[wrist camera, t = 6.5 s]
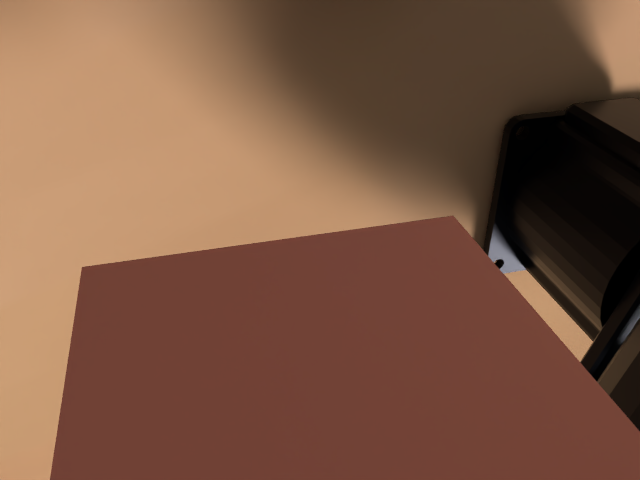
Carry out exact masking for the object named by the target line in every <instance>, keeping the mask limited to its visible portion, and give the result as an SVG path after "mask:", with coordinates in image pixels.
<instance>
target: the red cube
mask: <svg viewBox="0 0 640 480" xmlns="http://www.w3.org/2000/svg"><path fill="white" fill-rule="evenodd" d="M50 480H640V431H639V430H638V429H637V428H636V427H635V425H634V424H633V423H632V422H631V421H630V420H629V418H628V417H627V416H626V415H625V414H624V413H623V411H622V410H621V409H620V408H619V407H618V406H617V405H616V403H615V402H614V401H613V400H612V399H611V398H610V396H609V395H608V394H607V393H606V392H605V391H604V390H603V388H602V387H601V386H600V385H599V384H598V383H597V381H596V380H595V379H594V378H593V377H592V376H591V374H590V373H589V372H588V371H587V370H586V369H585V368H584V366H583V365H582V364H581V363H580V362H579V361H578V359H577V358H576V357H575V356H574V355H573V354H572V353H571V351H570V350H569V349H568V348H567V347H566V346H565V344H564V343H563V342H562V341H561V340H560V339H559V337H558V336H557V335H556V334H555V333H554V332H553V331H552V329H551V328H550V327H549V326H548V325H547V324H546V322H545V321H544V320H543V319H542V318H541V317H540V316H539V314H538V313H537V312H536V311H535V310H534V309H533V307H532V306H531V305H530V304H529V303H528V302H527V300H526V299H525V298H524V297H523V296H522V295H521V294H520V292H519V291H518V290H517V289H516V288H515V287H514V285H513V284H512V283H511V282H510V281H509V280H508V278H507V277H506V276H505V275H504V274H503V273H502V272H501V270H500V269H499V268H498V267H497V266H496V265H495V263H494V262H493V261H492V260H491V259H490V258H489V257H488V255H487V254H486V253H485V252H484V251H483V250H482V248H481V247H480V246H479V245H478V244H477V243H476V241H475V240H474V239H473V238H472V237H471V236H470V235H469V233H468V232H467V231H466V230H465V229H464V228H463V226H462V225H461V224H460V223H459V222H458V221H457V220H456V218H455V217H454V216H448V217H441V218H433V219H426V220H419V221H412V222H404V223H397V224H390V225H383V226H376V227H368V228H361V229H354V230H347V231H339V232H332V233H325V234H318V235H311V236H303V237H296V238H289V239H282V240H274V241H267V242H260V243H253V244H246V245H238V246H231V247H224V248H217V249H210V250H202V251H195V252H188V253H181V254H173V255H166V256H159V257H152V258H145V259H137V260H130V261H123V262H116V263H108V264H101V265H94V266H87V267H82V271H81V278H80V284H79V291H78V298H77V304H76V311H75V317H74V324H73V331H72V337H71V344H70V351H69V357H68V364H67V371H66V377H65V384H64V390H63V397H62V404H61V410H60V417H59V424H58V430H57V437H56V444H55V450H54V457H53V463H52V470H51V477H50Z"/></svg>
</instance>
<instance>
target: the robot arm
mask: <svg viewBox="0 0 640 480" xmlns="http://www.w3.org/2000/svg"><path fill="white" fill-rule="evenodd" d="M520 127H523V131H522V132H521V133H520V134H519V135H516V133H517V130H518V129H519V128H520ZM483 251H484V252H485V253H486V254H487V255H488V257H489V258H490V259H491V260H492V261H493V262H494V261H496V260H498V261H497V262H496V263H495V265H496V266H497V267H498V268H499V269H500V270H501V272H502V273H510V272H516V271H522V270H527V271H528V272H529V273H530V274H531V275H532V276H533V277H534V278H535V279H536V280H537V282H538V283H539V284H540V285H541V286H542V287H543V288H544V289H545V290H546V291H547V292H548V293H549V294H550V296H551V297H552V298H553V299H554V300H555V301H556V302H557V303H558V304H559V305H560V306H561V307H562V308H563V310H564V311H565V312H566V313H567V314H568V315H569V316H570V317H571V318H572V319H573V320H574V321H575V322H576V324H577V325H578V326H579V327H580V328H581V329H582V330H583V331H584V332H585V333H586V334H587V335H588V336H589V338H590V339H591V340H592V341H593V343H592V345H591V346H590V348H589V349H588V351H587V352H586V354H585V355H584V357H583V359H582V360H581V362H580V363H581V364H582V365H583V366H584V368H585V369H586V370H587V371H588V372H589V373H590V374H591V376H592V377H593V378H594V379H595V380H596V381H597V383H598V384H599V385H600V386H601V387H602V388H603V390H604V391H605V392H606V393H607V394H608V395H609V396H610V398H611V399H612V400H613V401H614V402H615V403H616V405H617V406H618V407H619V408H620V409H621V410H622V411H623V413H624V414H625V415H626V416H627V417H628V418H629V420H630V421H631V422H632V423H633V424H634V425H635V427H636V428H637V429H638V430H639V431H640V100H639V99H636V98H623V99H614V100H604V101H594V102H584V103H575V104H573V105H571V106H570V107H568V108H567V109H566V110H564V111H554V112H545V113H535V114H526V115H518V116H515V117H513V118H512V119H510V120H509V121H508V123H507V124H506V125H505V128H504V132H503V138H502V144H501V150H500V156H499V161H498V167H497V173H496V179H495V185H494V191H493V197H492V203H491V209H490V215H489V221H488V226H487V232H486V238H485V244H484V250H483Z"/></svg>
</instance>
